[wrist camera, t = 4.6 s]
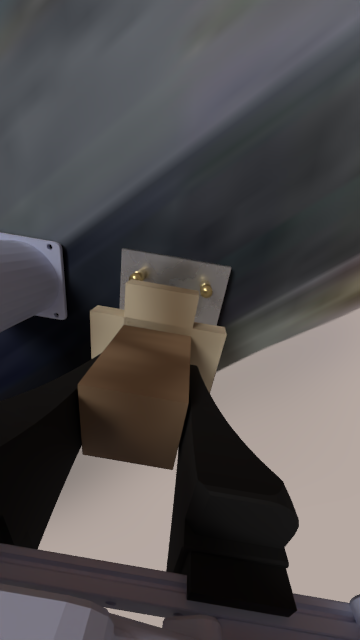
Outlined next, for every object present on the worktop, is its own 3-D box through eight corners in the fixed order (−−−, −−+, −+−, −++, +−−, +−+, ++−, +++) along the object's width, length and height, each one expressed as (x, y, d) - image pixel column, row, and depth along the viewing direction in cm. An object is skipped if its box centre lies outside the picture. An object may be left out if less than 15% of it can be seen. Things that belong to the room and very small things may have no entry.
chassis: (121, 346, 23) (109, 364, 20) (125, 247, 19) (111, 250, 15) (205, 361, 23) (207, 381, 20) (229, 265, 19) (236, 272, 15)
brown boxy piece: (99, 390, 15) (44, 479, 10) (97, 273, 11) (7, 310, 6) (201, 407, 15) (205, 506, 10) (232, 296, 11) (267, 354, 6)
